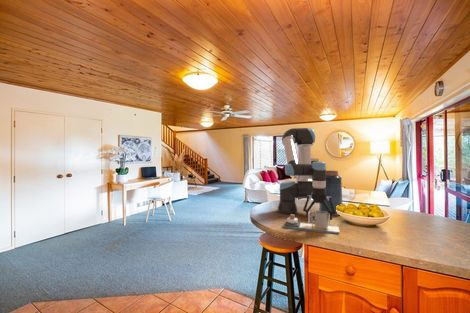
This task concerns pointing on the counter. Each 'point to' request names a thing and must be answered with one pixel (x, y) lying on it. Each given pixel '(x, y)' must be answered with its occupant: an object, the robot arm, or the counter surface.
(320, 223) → the cup
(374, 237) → the counter surface
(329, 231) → the game board
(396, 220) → the counter surface
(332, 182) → the vase
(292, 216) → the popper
